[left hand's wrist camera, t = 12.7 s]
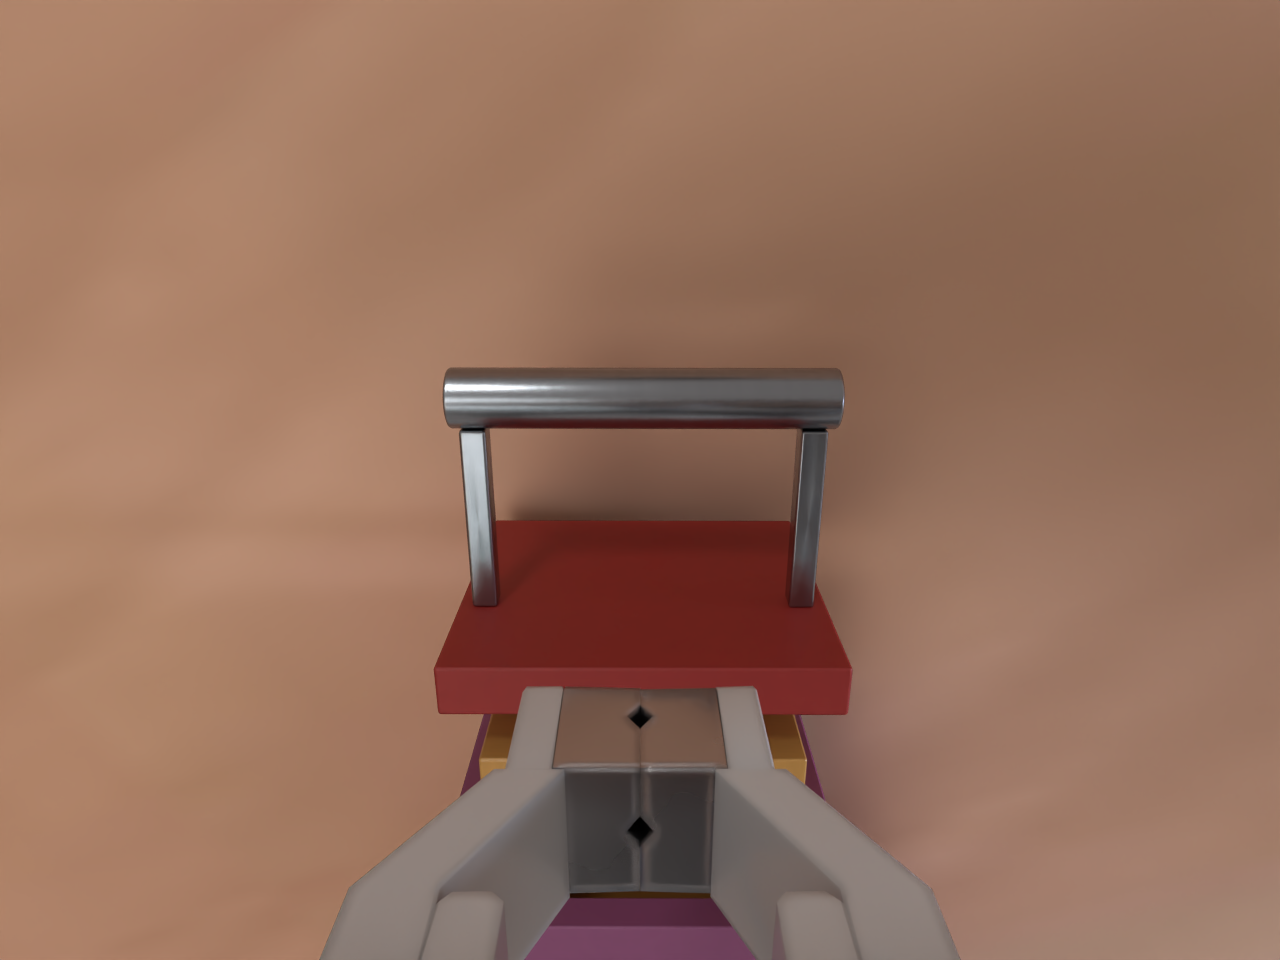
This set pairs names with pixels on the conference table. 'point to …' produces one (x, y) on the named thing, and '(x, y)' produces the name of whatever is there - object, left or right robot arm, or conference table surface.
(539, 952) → the cabinet
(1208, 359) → the conference table surface
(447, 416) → the drawer
